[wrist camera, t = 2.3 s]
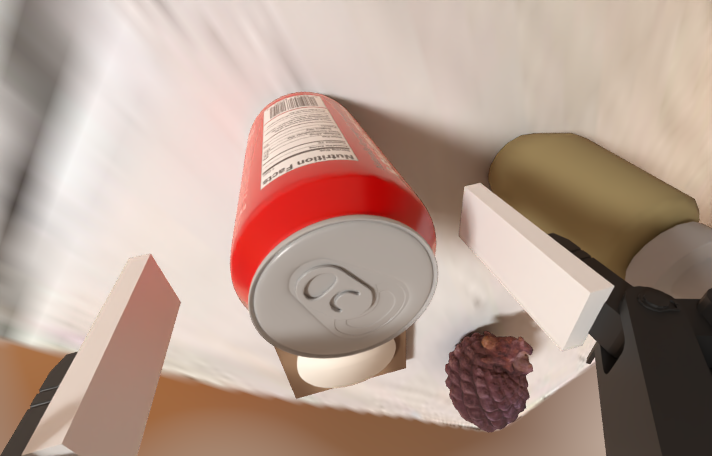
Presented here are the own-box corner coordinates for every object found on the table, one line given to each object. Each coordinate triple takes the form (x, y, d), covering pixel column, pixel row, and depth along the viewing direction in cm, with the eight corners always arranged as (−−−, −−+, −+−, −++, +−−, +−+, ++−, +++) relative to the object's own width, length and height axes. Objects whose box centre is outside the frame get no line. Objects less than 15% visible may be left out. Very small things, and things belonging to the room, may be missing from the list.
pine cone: (477, 378, 49) (518, 449, 41) (419, 390, 47) (450, 467, 39) (517, 299, 40) (580, 372, 32) (445, 309, 37) (494, 390, 29)
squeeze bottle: (568, 167, 29) (861, 318, 15) (494, 220, 31) (692, 402, 16) (546, 97, 25) (936, 218, 10) (460, 164, 26) (693, 349, 12)
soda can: (299, 59, 19) (351, 138, 7) (379, 142, 24) (495, 277, 12) (224, 152, 21) (169, 331, 9) (310, 212, 26) (348, 389, 14)
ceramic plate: (392, 308, 33) (394, 314, 32) (394, 366, 39) (396, 372, 38) (286, 335, 31) (286, 342, 30) (307, 391, 38) (307, 397, 37)
